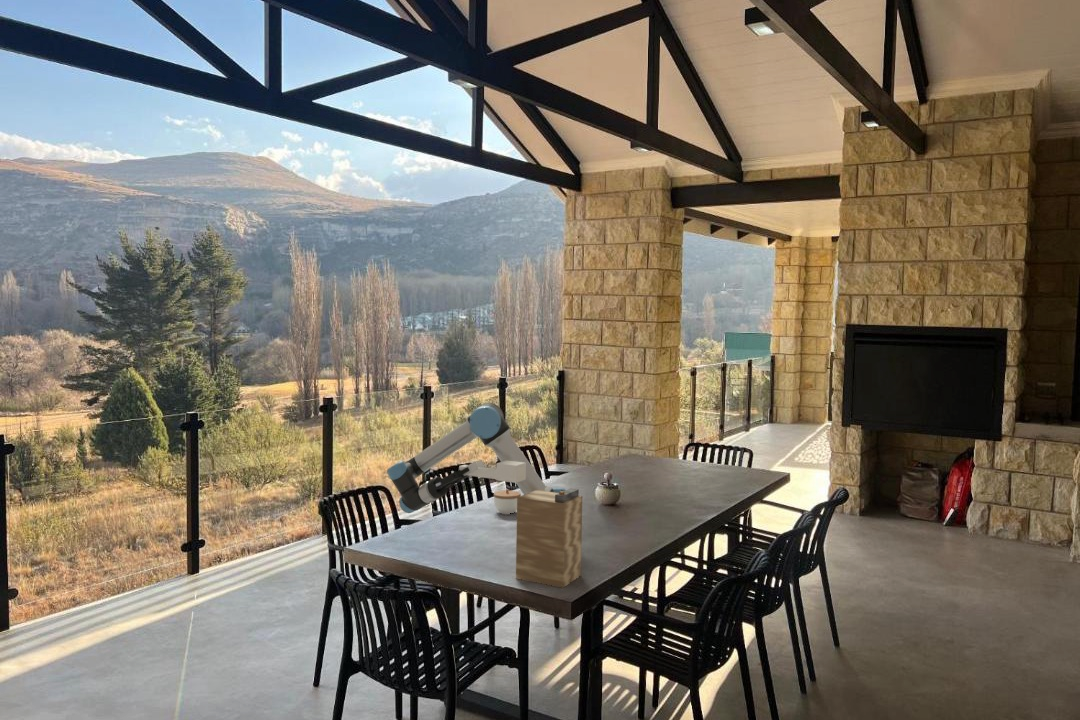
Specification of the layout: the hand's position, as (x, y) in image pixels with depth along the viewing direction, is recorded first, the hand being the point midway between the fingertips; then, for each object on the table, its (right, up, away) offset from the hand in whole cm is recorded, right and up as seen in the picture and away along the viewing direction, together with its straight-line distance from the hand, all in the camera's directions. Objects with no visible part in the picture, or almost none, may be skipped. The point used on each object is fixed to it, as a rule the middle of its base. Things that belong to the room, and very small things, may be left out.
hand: (479, 464), depth 264 cm
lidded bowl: (+6, -34, +78) cm, 85 cm away
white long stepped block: (+4, -4, -2) cm, 6 cm away
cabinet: (+25, -37, -12) cm, 46 cm away
